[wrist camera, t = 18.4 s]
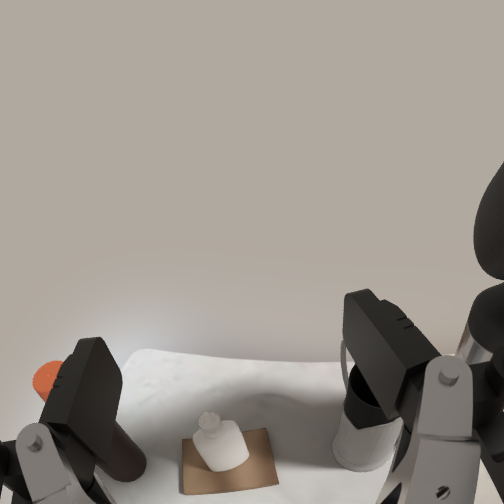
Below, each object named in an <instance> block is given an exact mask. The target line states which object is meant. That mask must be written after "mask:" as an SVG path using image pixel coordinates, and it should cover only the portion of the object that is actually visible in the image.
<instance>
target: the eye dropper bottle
mask: <svg viewBox="0 0 504 504" xmlns="http://www.w3.org/2000/svg"><path fill="white" fill-rule="evenodd" d="M198 424H199V426H200V428H201V429H199V430H198V431H197V432H196V433H195V434H194V435H193V442H194V445H195V447H196V449H197V450H198V452H199V454H200V455H201V457H202V458H203V460H204V461H205V463H206V464H207V466H208V467H209V468H210V470H212V471H214V472H220V471H227V470H230V469H233V468H235V467H237V466H239V465H241V464H242V463H243V462H245V461H246V460H247V459H248V457H249V452H248V449H247V446H246V444H245V441H244V438H243V435H242V433H241V431H240V429H239V427H238V425H237V424H236V423H235V422H234V421H231V420H221V419H220V417H219V415H218V414H216V413H213V412H208V411H205V412H203V415H201V417H200V418H199V420H198Z"/></svg>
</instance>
